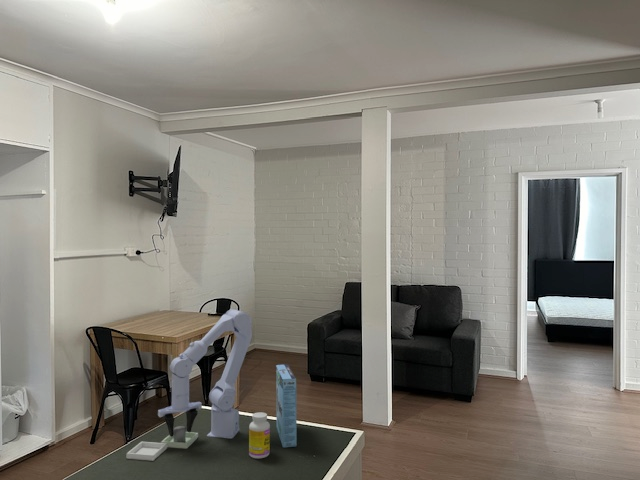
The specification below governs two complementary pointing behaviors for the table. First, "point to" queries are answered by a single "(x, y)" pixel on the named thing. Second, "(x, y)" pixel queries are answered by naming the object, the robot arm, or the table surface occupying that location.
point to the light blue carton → (286, 405)
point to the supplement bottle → (259, 436)
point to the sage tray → (189, 440)
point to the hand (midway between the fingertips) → (180, 433)
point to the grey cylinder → (180, 434)
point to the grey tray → (146, 451)
